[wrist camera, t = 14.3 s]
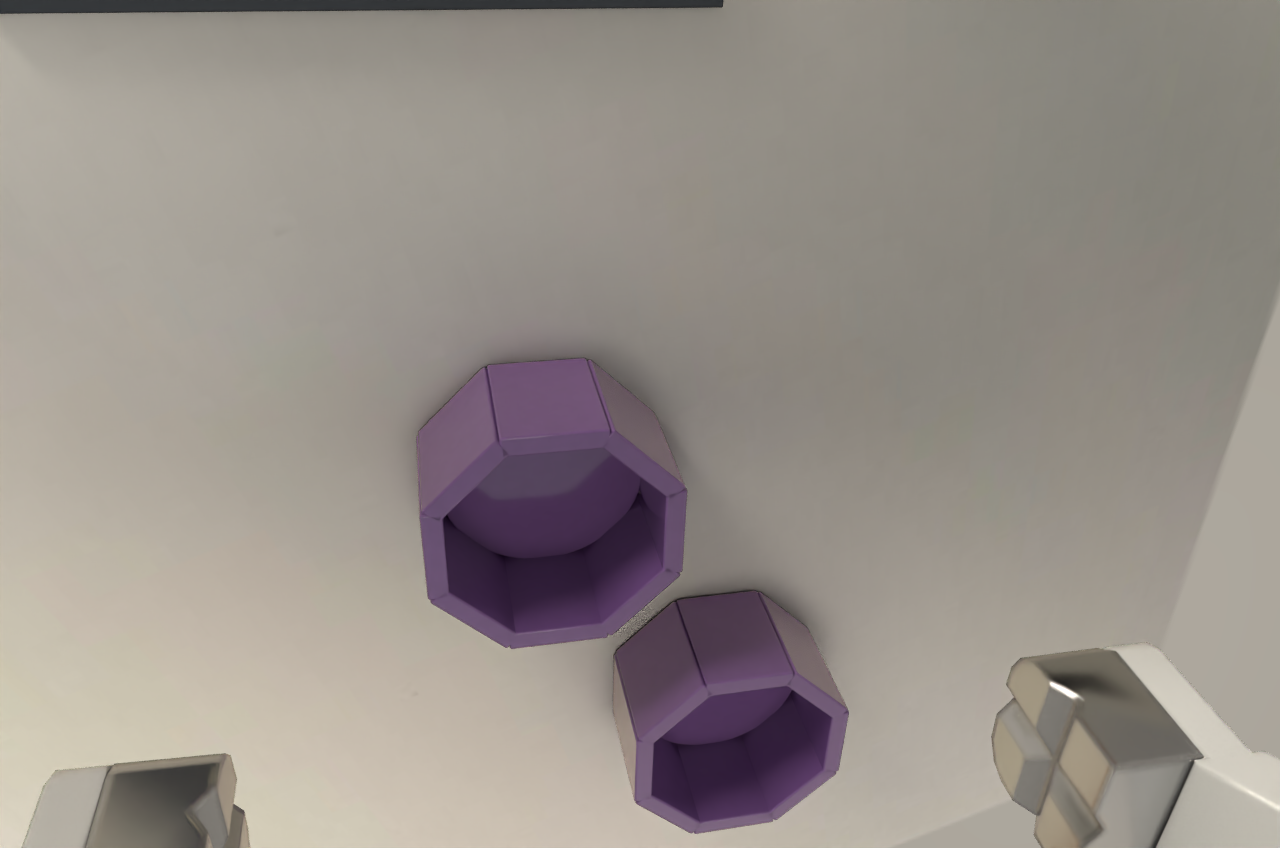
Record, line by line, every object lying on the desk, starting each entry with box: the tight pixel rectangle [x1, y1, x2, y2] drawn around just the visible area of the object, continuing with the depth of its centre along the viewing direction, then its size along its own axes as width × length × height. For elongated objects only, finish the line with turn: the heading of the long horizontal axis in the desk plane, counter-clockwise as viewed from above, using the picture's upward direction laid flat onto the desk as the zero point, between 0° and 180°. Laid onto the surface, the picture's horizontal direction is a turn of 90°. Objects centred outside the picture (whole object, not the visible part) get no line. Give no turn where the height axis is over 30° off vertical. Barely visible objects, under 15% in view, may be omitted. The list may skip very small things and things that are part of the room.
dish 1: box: [416, 358, 687, 649], centre depth 25 cm, size 6×6×3 cm
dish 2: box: [613, 591, 849, 834], centre depth 30 cm, size 6×6×3 cm
